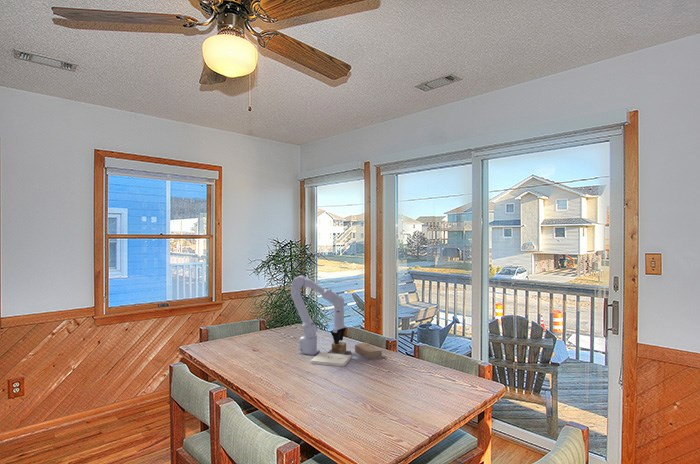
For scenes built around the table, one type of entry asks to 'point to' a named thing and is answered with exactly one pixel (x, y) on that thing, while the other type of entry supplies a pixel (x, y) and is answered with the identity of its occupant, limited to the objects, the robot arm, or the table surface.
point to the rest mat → (343, 354)
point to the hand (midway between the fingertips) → (338, 342)
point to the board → (331, 359)
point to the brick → (368, 351)
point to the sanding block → (339, 348)
